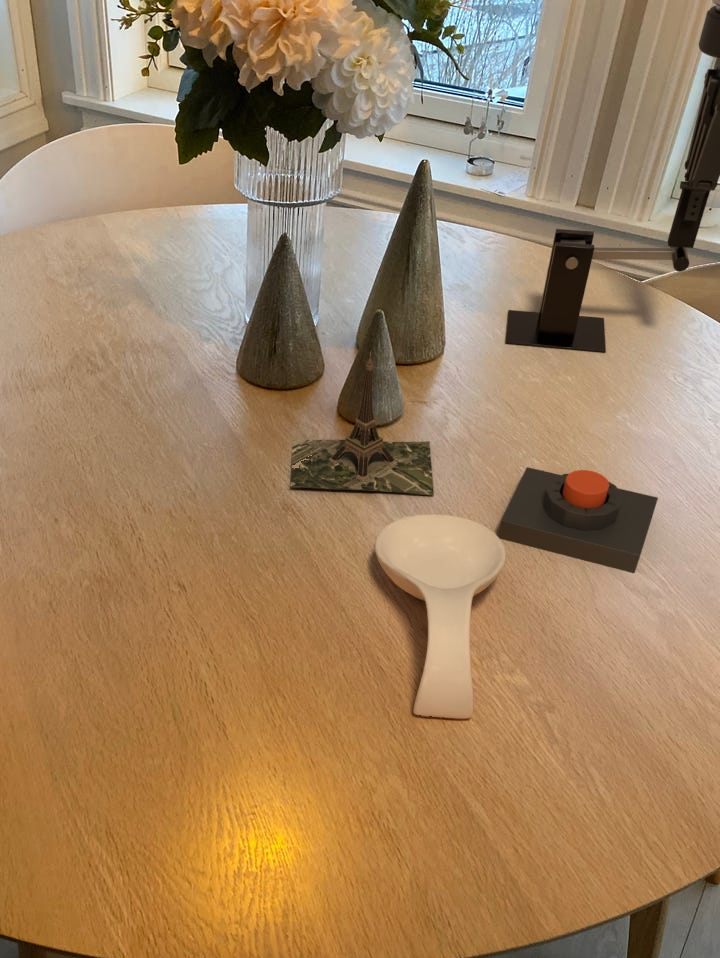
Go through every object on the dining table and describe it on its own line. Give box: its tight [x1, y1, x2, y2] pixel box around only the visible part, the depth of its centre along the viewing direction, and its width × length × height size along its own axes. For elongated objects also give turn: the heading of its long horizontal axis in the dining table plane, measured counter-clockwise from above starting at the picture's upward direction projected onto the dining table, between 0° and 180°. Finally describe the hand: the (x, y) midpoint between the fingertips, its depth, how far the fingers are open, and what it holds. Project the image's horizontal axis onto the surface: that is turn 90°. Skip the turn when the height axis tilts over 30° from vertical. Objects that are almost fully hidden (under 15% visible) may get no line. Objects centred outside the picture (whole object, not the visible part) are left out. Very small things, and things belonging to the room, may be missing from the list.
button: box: [562, 469, 610, 508], centre depth 95 cm, size 4×4×2 cm
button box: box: [497, 466, 659, 574], centre depth 96 cm, size 13×10×4 cm
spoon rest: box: [374, 513, 507, 720], centre depth 86 cm, size 24×12×7 cm, turn 175°
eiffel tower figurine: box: [289, 350, 435, 496], centre depth 101 cm, size 15×10×13 cm
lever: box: [561, 240, 690, 273], centre depth 117 cm, size 14×6×2 cm, turn 77°
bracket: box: [504, 228, 607, 354], centre depth 121 cm, size 12×9×13 cm
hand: (680, 244), depth 115 cm, fingers closed
